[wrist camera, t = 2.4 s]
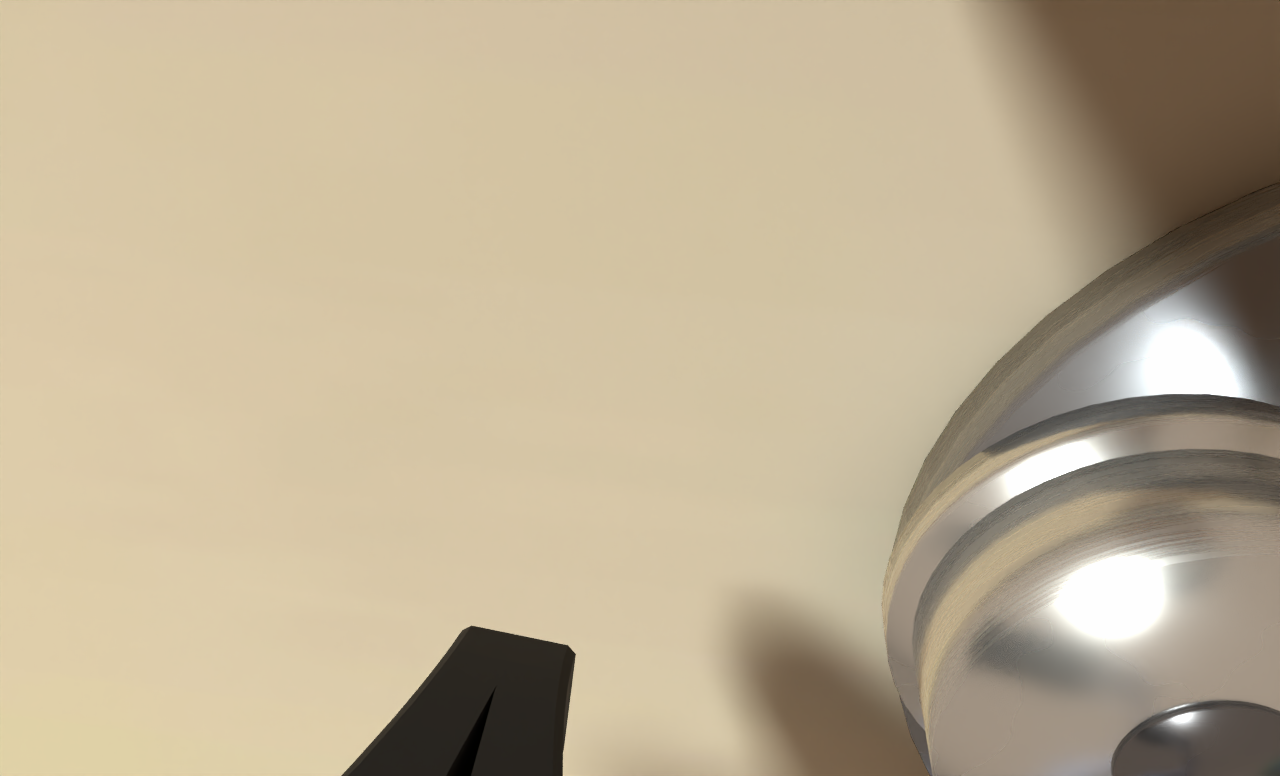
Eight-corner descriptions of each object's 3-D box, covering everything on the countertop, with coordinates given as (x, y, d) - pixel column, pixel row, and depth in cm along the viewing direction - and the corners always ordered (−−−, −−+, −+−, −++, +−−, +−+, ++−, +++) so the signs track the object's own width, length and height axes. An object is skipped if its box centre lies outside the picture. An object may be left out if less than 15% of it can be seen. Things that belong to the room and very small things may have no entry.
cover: (1263, 804, 16) (1362, 994, 13) (833, 715, 16) (842, 881, 14) (1544, 451, 12) (1769, 617, 9) (964, 347, 12) (1014, 476, 10)
